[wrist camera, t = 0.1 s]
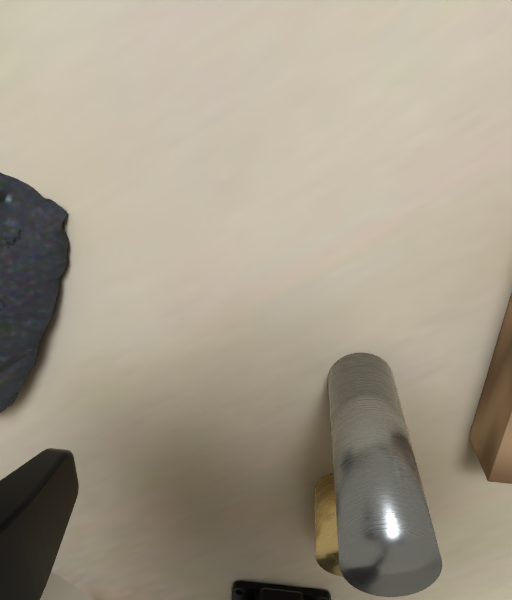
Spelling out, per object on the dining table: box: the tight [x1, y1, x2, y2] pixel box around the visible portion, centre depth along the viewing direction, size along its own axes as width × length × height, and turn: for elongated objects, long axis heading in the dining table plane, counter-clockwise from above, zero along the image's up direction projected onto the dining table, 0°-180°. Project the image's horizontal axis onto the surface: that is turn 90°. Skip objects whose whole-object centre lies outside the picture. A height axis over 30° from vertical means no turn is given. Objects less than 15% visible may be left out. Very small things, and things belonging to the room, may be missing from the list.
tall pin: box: [328, 353, 442, 597], centre depth 20 cm, size 3×3×10 cm
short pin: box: [314, 473, 343, 576], centre depth 26 cm, size 3×3×4 cm
